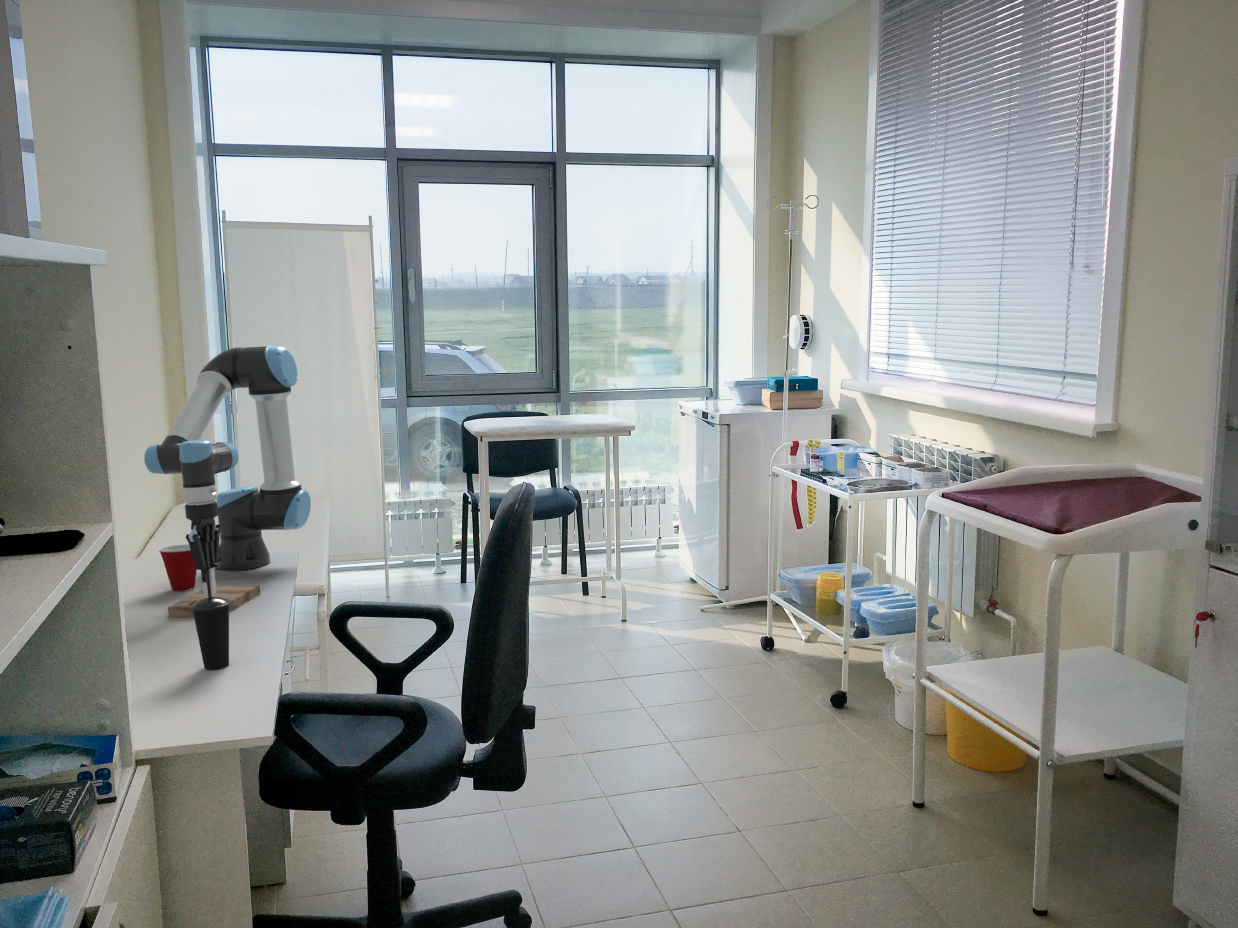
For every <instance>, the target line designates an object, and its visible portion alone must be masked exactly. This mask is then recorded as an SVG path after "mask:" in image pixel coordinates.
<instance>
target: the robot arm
mask: <svg viewBox="0 0 1238 928" xmlns="http://www.w3.org/2000/svg"><path fill="white" fill-rule="evenodd" d="M297 377H298V367H297V364H296V360H295V358H294V356H293V354H292V353H291V351H290V350H289V349H287V348H285V347H284V346H274V345H267V346H266V345H265V346H250V347H249V346H247V347H237V346H236V347H232V348H228V349H226V350H224V351H222V352H220V353H219V354H217V355H216V356H214V357H213V358H211V360H210V361H209V362H207V363H206V365H204V367H203V368H202V369H201V370H200V372H199V374H198V375H197V378H196V384H197V385H196V386H195V389H194V390H193V392H192V393H191V395H190V396H189V398H188V399H187V401H186V403H185V404H184V406H183V408H182V409H181V410H180V413H179V415H178V416H177V418H176V420H175V422H173V423H174V424H173V425H172V427H171V428H170V430H169V432H168V433H167V435H166V436H165V438H164V439H163V442H162V443H161V444H155V445H154V444H153V445H150V446H148V447H147V449H146V450H145V452H144V457H143V460H144V464H145V467H146V468H147V471H149V472H150V473H152V474H156V475H157V474H158V475H174V474H181V479H182V480H181V481H182V489H183V491H182V493H183V502H184V503H186V504H185V505H184V509H185V511H184V512H185V518H186V519H187V520H189V521H191V524H190V530H191V532H190V533H188V534H186V535H185V539H186V541H187V542H188V544H189V546H190V550H191V554H192V558H193V562H194V566H195V569H197V570H198V571H200V573H201V574H200V575H201V582H202V583H201V584H202V589H203V594H208V591H207V581H206V574H208V573H209V575H210V585H211V594H215V593H217V592H216V585H217V583H216V573H215V568H217V569H219V570H221V571H241V570H242V571H243V570H244V571H245V570H249V569H250V570H251V569H254V568H259V567H264V566H266V565H267V564H269V563H270V562H271V556H270V552H269V550H268V548H267V545H266V543H265V541H264V539H263V535H262V531H278V530H279V531H283V530H284V531H290V530H299V529H301V528H303V527H304V526H305V525H306V523H307V521H308V519H309V517H310V514H311V513H310V512H311V504H312V503H311V502H312V501H311V495H310V493H309V491H307V490H305V489H302V483H301V481H300V480H298V479H296V477H295V476H296V475H295V466H294V458H293V447H292V439H291V429H290V419H289V418H290V417H289V409H288V401H287V399H288V398H287V397H289V395H290V394H291V393H292V387H294V386H296V383H297V381H298V378H297ZM240 388H242V389H244V388H245V389H246V388H247V389H248V395H249V396H250V397H251V398H252V399H253V400H254V402H255V408H256V418H257V426H258V427H257V428H258V435H259V443H260V444H259V445H260V453H261V461H262V462H261V463H262V470H263V471H262V472H263V473H262V474H263V482H262V484H261V485H260V486H259V488H258V487H257V486H258V485H247V486H240V487H237V488H236V487H235V488H231V489H228V490H224V491H221V492H219V493H218V494H217V491H218V490H217V488H216V479H215V475H217V474H220V473H223V472H225V473H226V472H227V471H229V470H230V469H232V468H235V466H236V465H237V464H238V461H239V451H238V450H237V448H236V446H235V445H233V444H232V443H231V442H229V441H228V442H227V441H221V442H219V441H218V442H216V443H211V441H210V440H208V439H201V438H202V436H203V434H204V432H205V431H206V429H207V427H208V425H209V423H210V422H211V420H212V418H213V416H214V415H215V413H216V411H217V409H218V408H219V406H220V404H221V402H222V401H223V399H224V398H227V397H228V396H229V395H230V394H231V393H232V391H233V390H235V389H240ZM215 518H217V521H218V524H217V523H216V520H215Z"/></svg>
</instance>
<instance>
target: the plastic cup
mask: <svg viewBox="0 0 1238 928" xmlns="http://www.w3.org/2000/svg"><path fill="white" fill-rule="evenodd" d="M157 549H158V552H159V554H160V556H161V560H162V561H163V563H164V568H165V571H166V575H167V578H168V581H169V583H170V587H171V589H172V591H173V592H186V591H185V590H187V591H189V590H188V589H191V588H193V587H196V579H197V577H196V576H197V572H198V571H197V569H195V566H194V562H193V558H192V554H191V550H190V546H189V543H188V544H176V545H175V544H174V545H168V546H167V545H166V546H162V547H158V548H157ZM193 589H194V588H193ZM191 590H192V589H191Z"/></svg>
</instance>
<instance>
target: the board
mask: <svg viewBox="0 0 1238 928" xmlns="http://www.w3.org/2000/svg"><path fill="white" fill-rule="evenodd" d="M260 587H261V586H260V584H248V585H247V584H241V585H238V584H235V585H233V584H230V585H229V584H227V585H226V584H224V585H223V584H221V585H220V584H218V585H217V584H216V592H217V593H215V594H211V595H212V597H221V598H224V599H228V600H230V605H229V612H230V613H231V611H232V612H233V611H235V610H237V609H239V608H240V607H241V606H240V605H242V606H243V605H245V604H246V603H245V602H247V601H248V602H250V601H251V600H250V599H252V598H253V597H255V596H257V595H258V594H260V595H261V588H260ZM202 596H208V594H203V588H201V589H200V590H198V591H196V592H195V593H193V594H191V595H189V596H187V597H185V598H183V599H181V600H179V601H178V602H175V603H173V604H172V605H169V606H168V607H167V614H168V615H167V616H168V618H194V615H193V610H191V605H192V604H194V603H196V602H197V600H198V599H199V598H200V597H202ZM258 596H259V595H258ZM258 596H257V597H258ZM255 598H256V597H255ZM253 599H254V598H253ZM253 599H252V600H253ZM249 600H250V601H249ZM248 602H247V603H248ZM244 603H245V604H244ZM239 606H240V607H239ZM236 608H237V609H236ZM234 609H235V610H234Z"/></svg>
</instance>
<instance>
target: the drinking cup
mask: <svg viewBox="0 0 1238 928" xmlns="http://www.w3.org/2000/svg"><path fill="white" fill-rule="evenodd" d="M206 581H207V591H208V598H204V599H201V600H199V601H197V602H196V603H194V604H192V605H191V610H193V615H194V617H193V619H194V623H195V629H196V634H197V638H198V644H199V649H200V654H201V658H202V662H203V663H202V664H203V667H204V670H205V671H206V670H207V671H217V670H222V669H223V670H224V669H225V668H227V667H229V665H230V613H229V605H230V600H228V599H224V598H221V597H212V595H211V585H210V575H209V573H208V574H206Z"/></svg>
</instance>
